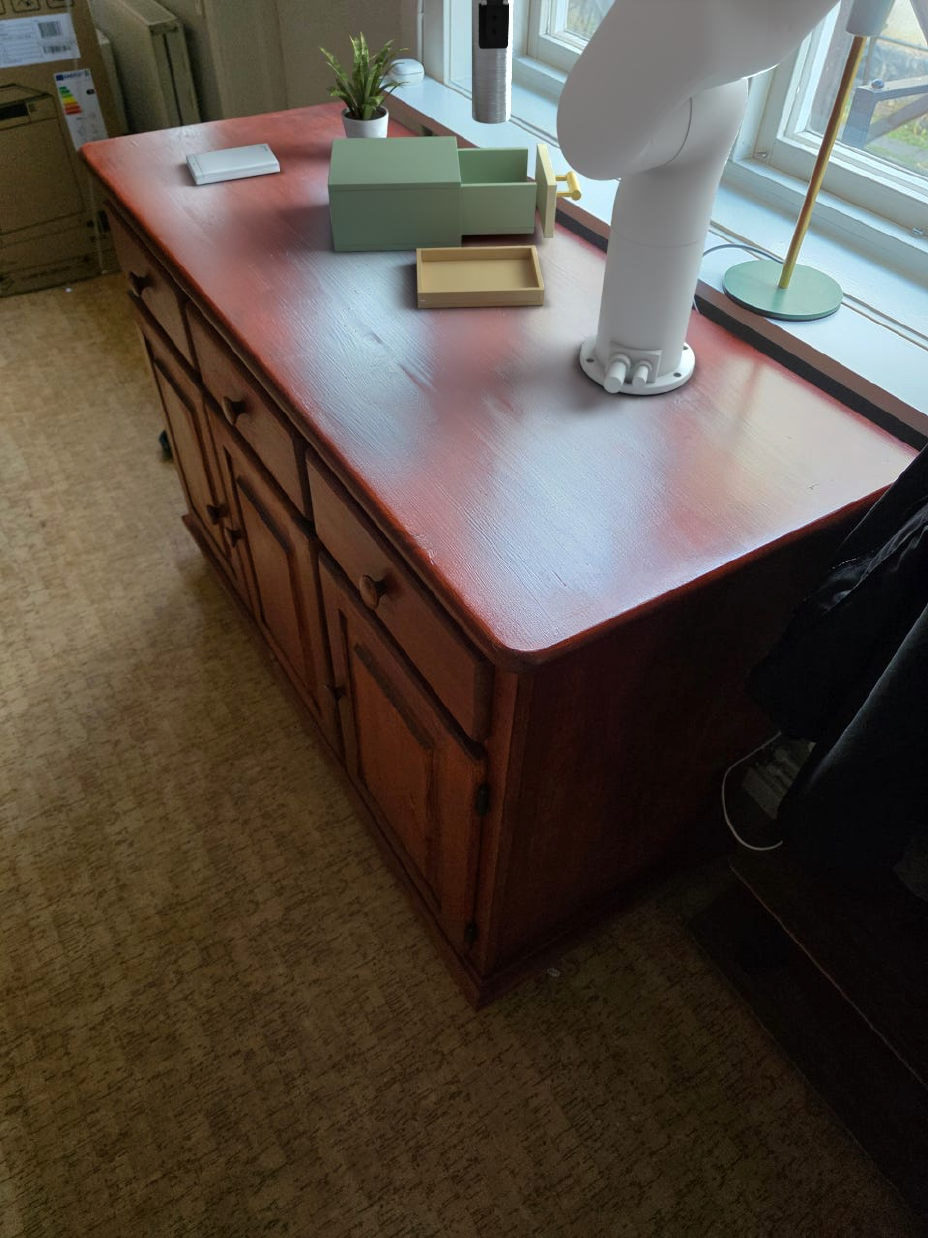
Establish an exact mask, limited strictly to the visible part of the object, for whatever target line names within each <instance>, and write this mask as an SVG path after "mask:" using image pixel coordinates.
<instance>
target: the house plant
mask: <svg viewBox="0 0 928 1238" xmlns="http://www.w3.org/2000/svg"><path fill="white" fill-rule="evenodd" d="M348 36H349V38H350V40H351V43H352V45H353V49H352V50H353V53H352V54H353V63H352V65H353V66H352V68H353V70H352V71H351V78H352V82H353V84H352V83H351V81H350V79H349V78H348V75H347V73H346V72H345V69H344V68H343V67H342V65H341V63H340V62H339V61H338V60H337V57H335V56H334V55H333V54H332V53H330V52H329V51H327V50H326V49H324V48H323V47H322V46H318V45H314V46H315V47H317V48H318V49H320V51H322V52H323V53H324V54H325V55H326V57H327V58H328V59H329V61H330V62H331V63H330V62H328V61H326V64H328V65H329V66H331V67H332V69H333V71H335V72H336V73H337V74H338V75H336V74H335V73H333V77H334V78H335V82H336V85H337V87H336V86H329V87H326V88H325V89H326V90H327V91H329V92H331V93H330V94H329V96H328V98H331V97H338V98H340V99H341V100H342V101H343V102H344V103H345V105H346V107H345V108H343V109H342V111H341V112H340V115H341V116H340V117H341V120H342V124H343V129H344V133H345V138H386V137H388V123H389V110H388V109H387V108H386V107H385V106H382V104H383V103H384V101H385V100H386V99H387V98H388V97H389V95H390V94H391V93H392V92H393V91H394V90H395V89H396V88H398V87H399V88H401V89H403V90H405V88H404V87H403V86H402V84H408V83H410V81H401V82H399V83H395V82H389V83H386V84H383V85H382V86H381V84H382V83H383V81H384V79H385V77H386V76H387V74H388V73H389V72H390V71H391V70H392V69H393V68H394V67H395V66H397V65H402V64H404V62H401V61H400V62H395V63H393V64H391V66H389V67H388V69H386V67H385V66H386V65H387V63H388V62H389V61H390V60H391V59H392V58H394V56H396V55H397V54H399V53H400V52H402V51H407V50H413V47H403V48H399V49H396V50H395V51H393V52H391V54H389V55H388V52H389V51H390V50H392V47H390V46H391V44H392V43H393V42H395V40H396V37H393V38H392V39H390V40H388V41H387V42H386V43H385V44H384V45H383V47H382V48H381V49H380V51H379V52H378V53H377V54H375V55H372V56H371V57H369V49H368V45H367V41H366V39H365V36H364V34H363V32H362V31H360V39H359V38H358V36H357V35H356V36H355V38H354V39H353V38H352V37H351V35H350V34H349V35H348ZM360 42H361V43H360ZM387 55H388V57H387ZM375 57H376V58H375ZM386 57H387V58H386ZM374 58H375V60H374V63H373V65H372V66H371V68H370V61H371V60H373V59H374ZM385 58H386V59H385ZM332 64H333V65H332ZM385 70H386V71H385ZM383 71H385V72H384V75H382V73H383ZM381 75H382V77H381ZM338 76H339V77H338ZM380 77H381V78H380ZM340 78H341V79H340ZM342 81H343V82H344V84H345V85H346V87H347V88H346V87H345V85H344V84H343V83H342ZM380 86H381V87H380ZM391 87H392V88H391ZM388 88H391V89H390V90H389V91H388V92H387V94H386V95H384V94H381V93H382V92H383V91H384V90H386V89H388ZM349 92H350V93H349ZM380 94H381V95H380Z"/></svg>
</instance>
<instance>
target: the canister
mask: <svg viewBox="0 0 928 1238" xmlns="http://www.w3.org/2000/svg"><path fill="white" fill-rule="evenodd" d="M479 3H481V0H471V118H472V120H473V121H475V122H476V123H480V124H483V125H484V124H485V125H496V124H501V123H506V122H507V121H509V120H510V118H511V104H512V102H511V99H512V65H513V30H514V29H513V26H514V0H508V3H510V17H509V46H508V47H507V48H505V49H481V48H480V47H479V43H478V40H479Z"/></svg>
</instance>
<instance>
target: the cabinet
mask: <svg viewBox="0 0 928 1238" xmlns="http://www.w3.org/2000/svg"><path fill="white" fill-rule="evenodd" d="M331 144H332V145H331V146H332V147H331V153H330V161H329V169H328V176H327V194H328V202H329V203H328V204H329V209H330V210H329V211H330V218H331V219H330V220H331V229H332V239H333V245H334V252H336V253H337V252H339V253H340V252H376V251H377V252H379V251H416V248H455V247H462V235H461V178H460V169H459V160H458V150H457V148H458V143H457V136H456V135H450V136H449V135H446V136H445V135H443V136H441V135H440V136H396V137H395V136H394V137H393V136H391V137H388V136H386V138H347V137H343V138H341V137H340V138H338V137H337V138H336V137H335V138H333V139H332V143H331Z"/></svg>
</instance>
